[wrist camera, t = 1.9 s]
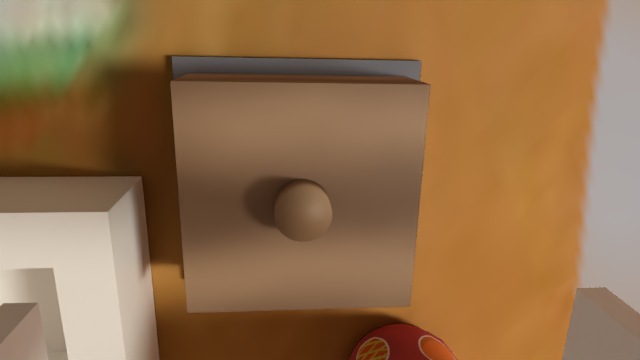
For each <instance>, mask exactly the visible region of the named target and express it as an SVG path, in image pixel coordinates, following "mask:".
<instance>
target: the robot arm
mask: <svg viewBox="0 0 640 360" xmlns="http://www.w3.org/2000/svg"><path fill="white" fill-rule="evenodd" d="M0 360H48V354H47V349H46V343H45V338H44V332H43V326H42V321H41V315H40V310H39V304H38V302H35V303H3V304H2V305H1V306H0ZM562 360H640V314H639V313H638V312H636V311H635V310H634V309H632V308H631V307H630V306H629V305H627V304H626V303H625V302H623V301H622V300H621V299H619V298H618V297H617V296H616V295H614V294H613V293H612V292H610V291H609V290H608V289H606V288H577V291H576V296H575V300H574V305H573V310H572V315H571V320H570V324H569V329H568V334H567V339H566V344H565V349H564V353H563V358H562Z"/></svg>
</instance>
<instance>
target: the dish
mask: <svg viewBox="0 0 640 360" xmlns="http://www.w3.org/2000/svg"><path fill="white" fill-rule="evenodd" d="M35 302H38V304H39V310H40V315H41V321H42V326H43V332H44V338H45V343H46V349H47V354H48V360H160V358H159V348H158V338H157V327H156V317H155V306H154V296H153V286H152V275H151V265H150V255H149V244H148V234H147V224H146V213H145V203H144V193H143V182H142V176H119V177H0V306H1V305H2V304H3V303H35Z"/></svg>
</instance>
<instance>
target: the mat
mask: <svg viewBox="0 0 640 360" xmlns="http://www.w3.org/2000/svg"><path fill="white" fill-rule="evenodd" d="M172 69H173V80H174V79H176V78H179V77H181V76H183V75H186V74H188V73H218V74H283V75H348V76H406V77H409V78H412V79H415V80H418V81H420V72H421V61H413V60H359V59H305V58H250V57H196V56H172Z"/></svg>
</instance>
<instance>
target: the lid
mask: <svg viewBox="0 0 640 360" xmlns="http://www.w3.org/2000/svg"><path fill="white" fill-rule="evenodd" d="M170 86H171V99H172V113H173V127H174V141H175V154H176V168H177V182H178V195H179V209H180V223H181V236H182V250H183V264H184V277H185V291H186V305H187V313H202V312H237V311H272V310H307V309H341V308H376V307H410V302H411V291H412V280H413V269H414V259H415V248H416V237H417V226H418V215H419V204H420V193H421V182H422V171H423V160H424V149H425V138H426V127H427V116H428V105H429V94H430V84H427V83H424V82H421V81H418V80H415V79H412V78H409V77H406V76H348V75H283V74H218V73H188V74H186V75H183V76H181V77H179V78H176V79H174V80H172V81H170Z"/></svg>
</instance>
